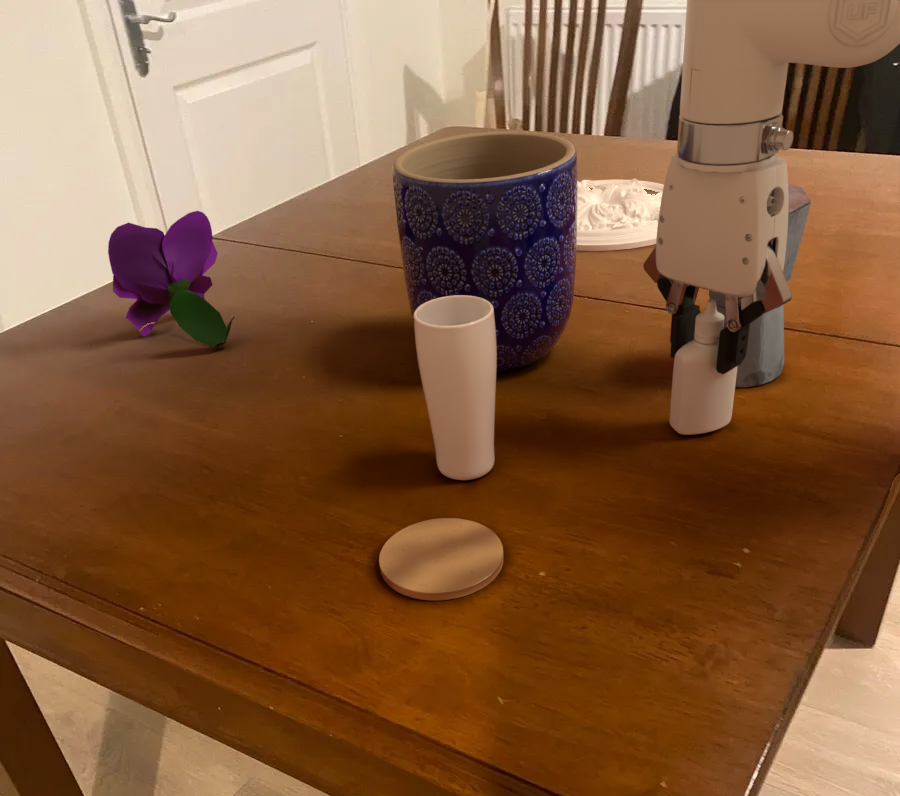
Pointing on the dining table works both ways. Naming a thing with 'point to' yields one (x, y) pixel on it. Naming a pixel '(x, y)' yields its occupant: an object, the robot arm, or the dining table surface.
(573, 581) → the dining table surface
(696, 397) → the eye dropper bottle
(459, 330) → the drinking glass
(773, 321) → the moka pot
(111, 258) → the flower
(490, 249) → the planter
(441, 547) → the cork trivet
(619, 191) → the ceiling medallion
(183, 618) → the dining table surface
